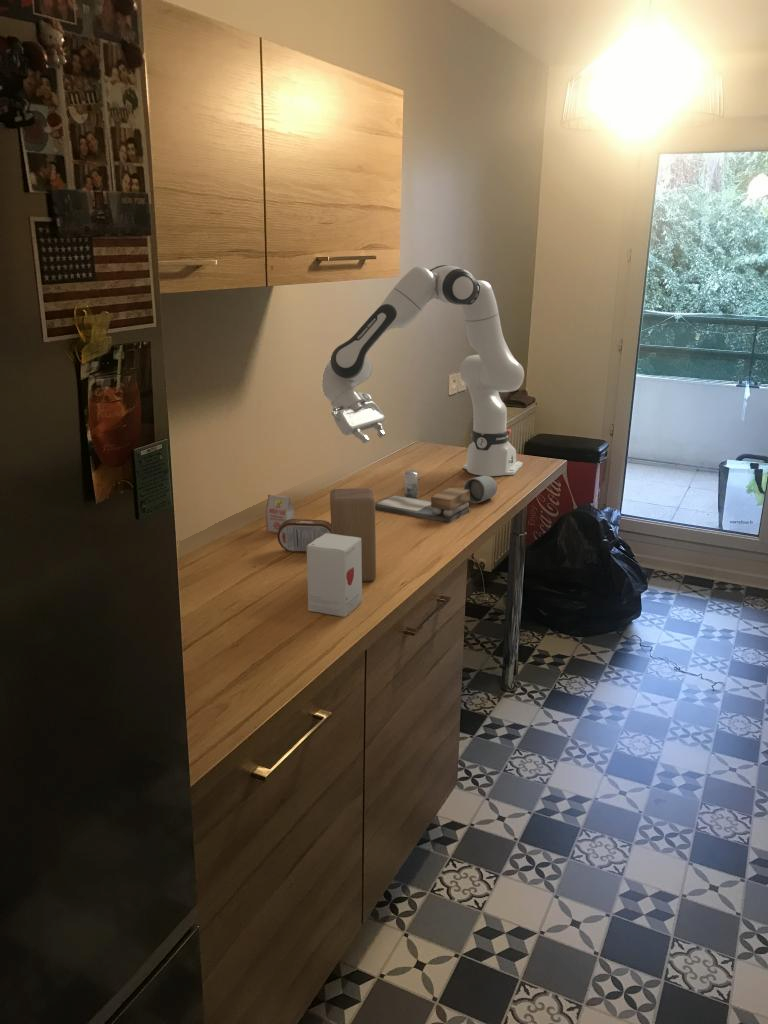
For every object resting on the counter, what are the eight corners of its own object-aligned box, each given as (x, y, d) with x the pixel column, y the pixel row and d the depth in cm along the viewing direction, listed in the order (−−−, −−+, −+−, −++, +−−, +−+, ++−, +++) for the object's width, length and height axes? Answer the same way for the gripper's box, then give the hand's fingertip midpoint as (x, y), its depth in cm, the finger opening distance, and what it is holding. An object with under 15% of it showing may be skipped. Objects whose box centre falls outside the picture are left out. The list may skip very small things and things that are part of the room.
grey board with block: (393, 498, 256) (393, 477, 254) (469, 511, 243) (469, 489, 241) (371, 508, 246) (371, 487, 244) (449, 522, 233) (450, 500, 231)
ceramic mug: (498, 499, 254) (499, 474, 252) (484, 505, 248) (484, 480, 246) (469, 493, 261) (469, 470, 259) (454, 499, 255) (454, 475, 253)
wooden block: (332, 568, 201) (329, 488, 195) (373, 566, 202) (372, 486, 196) (332, 583, 192) (330, 500, 185) (376, 582, 192) (375, 499, 186)
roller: (408, 494, 260) (408, 469, 257) (420, 496, 258) (420, 471, 255) (402, 497, 257) (402, 472, 254) (413, 499, 255) (413, 474, 252)
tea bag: (274, 527, 230) (272, 492, 227) (294, 531, 227) (293, 495, 224) (266, 531, 227) (264, 496, 224) (287, 535, 224) (285, 499, 221)
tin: (337, 550, 213) (336, 519, 210) (335, 554, 210) (335, 523, 207) (279, 549, 214) (278, 517, 212) (277, 553, 211) (275, 521, 209)
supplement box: (345, 618, 174) (343, 550, 169) (307, 611, 177) (304, 545, 173) (363, 602, 182) (362, 537, 177) (326, 595, 185) (324, 531, 181)
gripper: (335, 403, 251) (362, 438, 248) (372, 393, 267) (398, 427, 265) (323, 416, 254) (350, 451, 252) (360, 406, 271) (386, 439, 269)
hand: (375, 439), depth 259 cm, fingers open, 8 cm apart
